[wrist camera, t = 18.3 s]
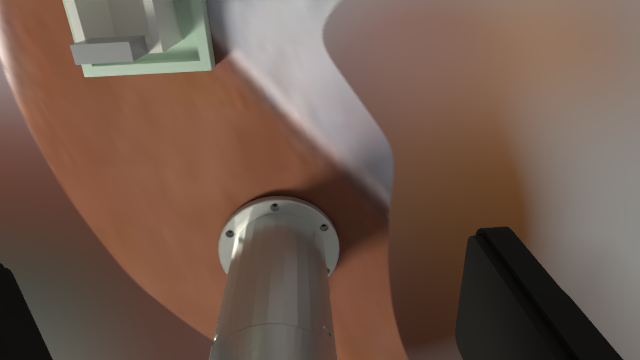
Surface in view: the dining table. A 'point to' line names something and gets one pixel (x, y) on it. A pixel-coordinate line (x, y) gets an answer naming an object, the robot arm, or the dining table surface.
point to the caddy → (122, 29)
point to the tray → (178, 58)
